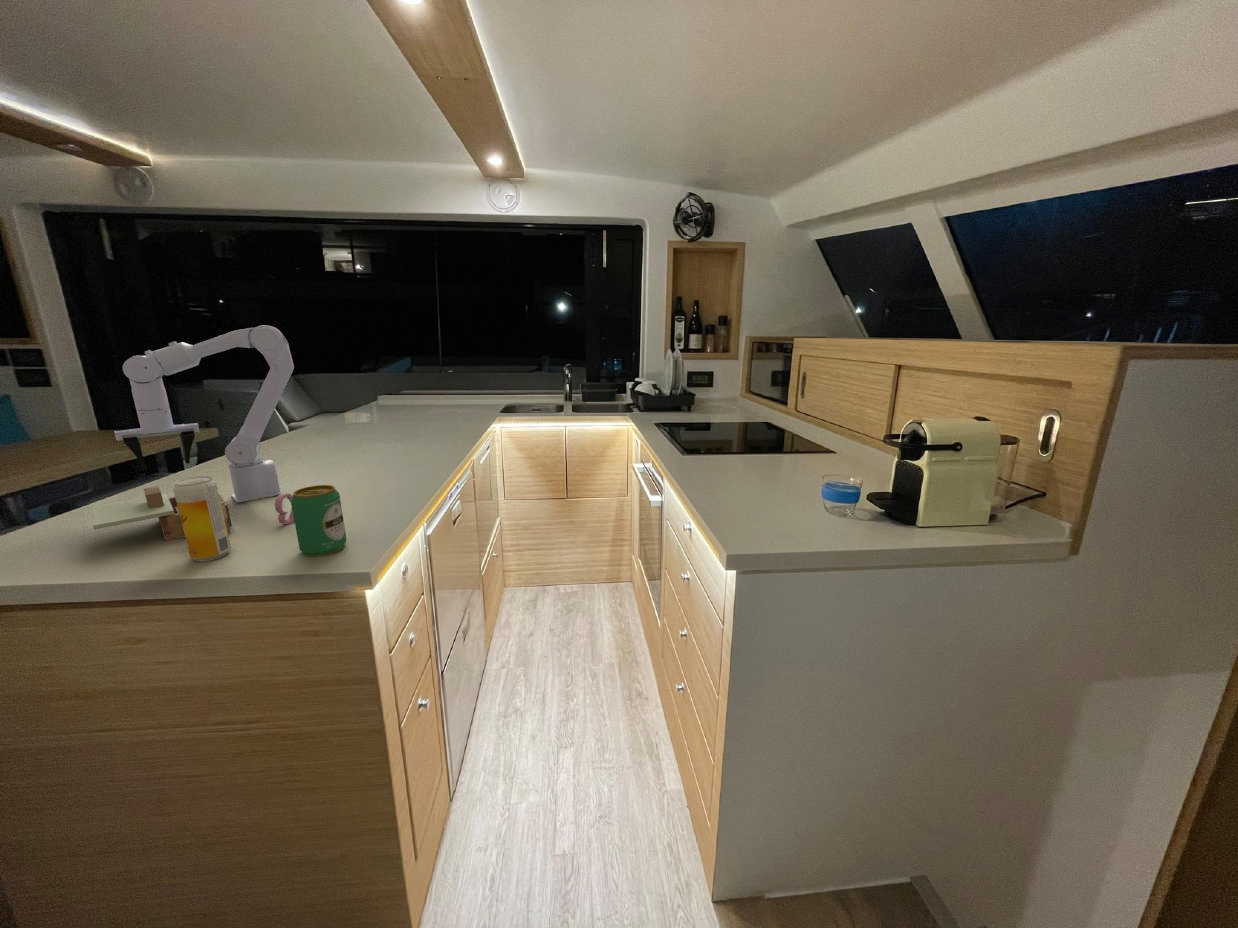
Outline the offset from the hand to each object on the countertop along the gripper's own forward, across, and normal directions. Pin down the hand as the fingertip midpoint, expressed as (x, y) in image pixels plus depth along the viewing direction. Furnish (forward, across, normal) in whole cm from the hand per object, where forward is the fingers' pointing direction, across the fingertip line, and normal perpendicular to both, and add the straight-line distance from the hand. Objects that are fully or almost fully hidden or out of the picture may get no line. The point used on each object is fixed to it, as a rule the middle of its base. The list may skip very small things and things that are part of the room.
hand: (166, 465), depth 119 cm
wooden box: (+10, -2, +17) cm, 20 cm away
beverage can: (+10, -17, +53) cm, 57 cm away
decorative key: (+10, -22, +27) cm, 36 cm away
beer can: (+10, -1, +41) cm, 42 cm away
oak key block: (+10, -3, +30) cm, 32 cm away
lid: (+5, +8, +17) cm, 19 cm away
